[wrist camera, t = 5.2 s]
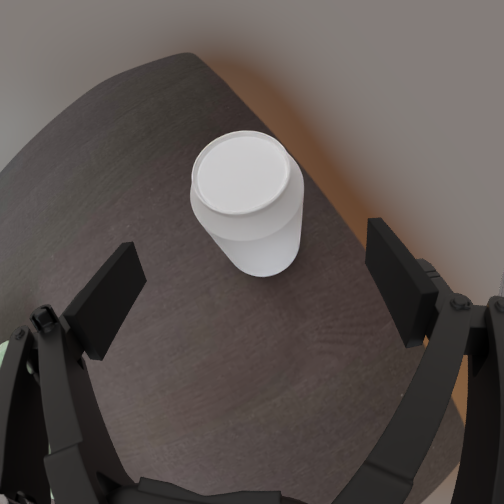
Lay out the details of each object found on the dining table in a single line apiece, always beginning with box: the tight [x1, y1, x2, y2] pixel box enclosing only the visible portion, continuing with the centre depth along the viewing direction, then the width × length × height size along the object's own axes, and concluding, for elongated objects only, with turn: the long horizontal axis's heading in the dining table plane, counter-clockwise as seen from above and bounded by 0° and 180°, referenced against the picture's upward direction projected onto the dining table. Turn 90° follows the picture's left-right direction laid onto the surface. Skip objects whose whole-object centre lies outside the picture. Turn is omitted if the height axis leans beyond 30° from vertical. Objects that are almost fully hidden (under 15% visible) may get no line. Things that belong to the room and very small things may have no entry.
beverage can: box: [190, 131, 304, 277], centre depth 19 cm, size 6×6×12 cm
